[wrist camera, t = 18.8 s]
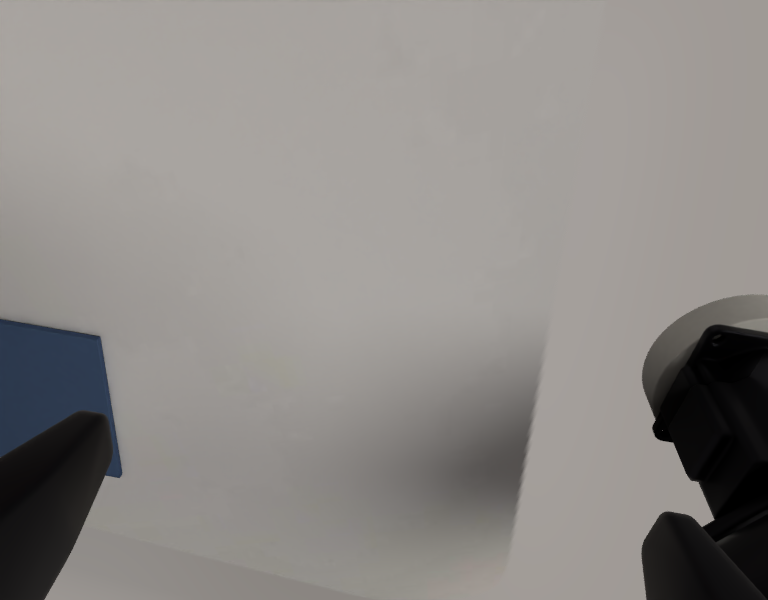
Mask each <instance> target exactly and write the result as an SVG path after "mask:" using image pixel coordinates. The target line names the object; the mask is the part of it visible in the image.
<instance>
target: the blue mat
mask: <svg viewBox="0 0 768 600" xmlns="http://www.w3.org/2000/svg"><path fill="white" fill-rule="evenodd" d="M81 410H86V411H92V412H98V413H103V414H105V415H106V416H107V418H108V421H109V426H110V432H111V438H112V444H113V456H112V460H111V463H110V465H109V468H108V470H107V472H106V474H105V475H106V476H112V477H117V478H120V477H121V475H122V469H121V463H120V457H119V450H118V444H117V438H116V432H115V425H114V419H113V413H112V407H111V401H110V394H109V388H108V382H107V376H106V370H105V363H104V357H103V351H102V345H101V339H100V337H99V336H94V335H88V334H82V333H76V332H71V331H65V330H59V329H53V328H48V327H42V326H36V325H30V324H25V323H19V322H13V321H7V320H2V319H0V457H2V456H4V455H5V454H7V453H8V452H10V451H12V450H13V449H15V448H17V447H18V446H20V445H22V444H23V443H25V442H27V441H28V440H30V439H32V438H33V437H35V436H37V435H38V434H40V433H42V432H43V431H45V430H47V429H48V428H50V427H52V426H53V425H55V424H57V423H58V422H60V421H62V420H63V419H65V418H67V417H68V416H70V415H72V414H73V413H75V412H77V411H81Z"/></svg>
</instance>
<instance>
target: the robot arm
mask: <svg viewBox="0 0 768 600" xmlns="http://www.w3.org/2000/svg"><path fill="white" fill-rule="evenodd" d="M717 335H721V336H720V337H719V338H717V339H713V338H714V337H715V336H717ZM665 429H667V430H665ZM652 430H653V433H654V435H655V437H656V438H657V439H658V440H661V441H665V442H671V443H674V445H675V448H676V450H677V452H678V455H679V457H680V459H681V462H682V465H683V467H684V469H685V472H686V474H687V476H688V477H689V478H690V480H691V481H697V482H699V484H700V487H701V489H702V491H703V494H704V496H705V498H706V501H707V503H708V505H709V507H710V510H711V512H712V515H713V517H714V519H715V520H714V521H712V522H710V523H708V524H707V525H705V526H703V527H701V526H700V525H699V524H698V522H696V520H695V519H693V518H692V517H691V516H689V515H685V514H680V513H674V512H664V513H662V514H661V515H660V516H659V518H658V519H657V521H656V522H655V524H654V525H653V527H652V528H651V530H650V532H649V533H648V535H647V536H646V538H645V540H644V542H643V545H642V564H643V573H644V581H645V590H646V599H647V600H768V332H762V331H757V330H751V329H745V328H739V327H733V326H727V325H722V324H715V325H712V326H709V327H708V328H706V329H705V331H704V332H703V334H702V336H701V337H700V339H699V341H698V343H697V345H696V347H695V348H694V350H693V352H692V354H691V356H690V358H689V359H688V361H687V363H686V365H685V366H684V367H682V368H681V369H680V371H679V373H678V375H677V377H676V379H675V380H674V382H673V384H672V386H671V388H670V390H669V392H668V393H667V395H666V397H665V399H664V401H663V403H662V405H661V406H660V413H659V415H658V417H657V418H656V420H655V422H654V424H653V426H652ZM662 430H665V431H662ZM112 456H113V444H112V438H111V432H110V426H109V421H108V418H107V416H106V415H105V414H103V413H98V412H92V411H86V410H81V411H77V412H75V413H73V414H72V415H70V416H68V417H67V418H65V419H63V420H62V421H60V422H58V423H57V424H55V425H53V426H52V427H50V428H48V429H47V430H45V431H43V432H42V433H40V434H38V435H37V436H35V437H33V438H32V439H30V440H28V441H27V442H25V443H23V444H22V445H20V446H18V447H17V448H15V449H13V450H12V451H10V452H8V453H7V454H5V455H4V456H2V457H0V600H44V599H45V598H46V596H47V594H48V592H49V590H50V589H51V587H52V585H53V583H54V582H55V580H56V578H57V576H58V575H59V573H60V571H61V569H62V568H63V566H64V564H65V562H66V560H67V558H68V557H69V555H70V553H71V551H72V549H73V547H74V545H75V543H76V540H77V538H78V536H79V534H80V531H81V529H82V527H83V525H84V522H85V520H86V518H87V516H88V513H89V511H90V509H91V506H92V504H93V502H94V500H95V497H96V495H97V493H98V490H99V488H100V486H101V484H102V481H103V479H104V477H105V474H106V472H107V470H108V468H109V465H110V463H111V460H112Z"/></svg>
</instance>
